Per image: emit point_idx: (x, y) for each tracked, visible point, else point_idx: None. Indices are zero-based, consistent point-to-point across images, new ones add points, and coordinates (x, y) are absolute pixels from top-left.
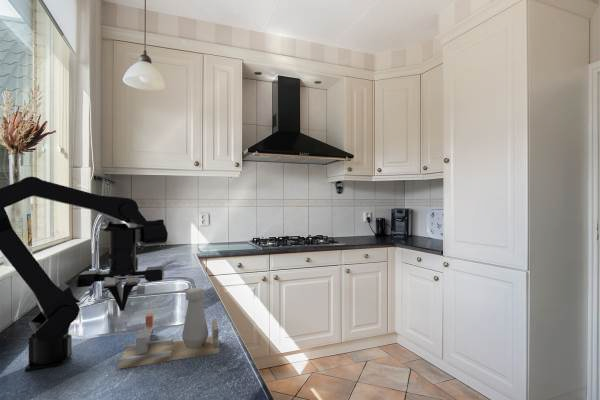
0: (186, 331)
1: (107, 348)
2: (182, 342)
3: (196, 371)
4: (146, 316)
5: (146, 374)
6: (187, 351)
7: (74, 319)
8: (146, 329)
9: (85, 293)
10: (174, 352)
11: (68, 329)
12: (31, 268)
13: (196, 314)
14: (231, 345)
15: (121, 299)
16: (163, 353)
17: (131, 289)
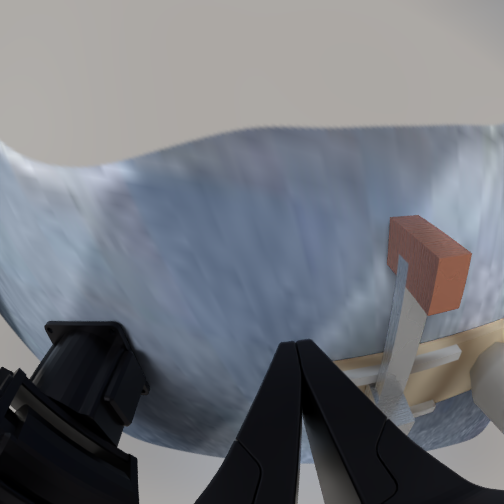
0: (485, 413)
1: (238, 319)
2: (473, 348)
3: (447, 418)
4: (432, 312)
5: None
6: (463, 387)
7: (129, 482)
8: (405, 426)
9: None
10: (440, 392)
11: (96, 417)
12: None
13: None
14: None
15: (300, 454)
16: (418, 415)
17: (434, 484)
